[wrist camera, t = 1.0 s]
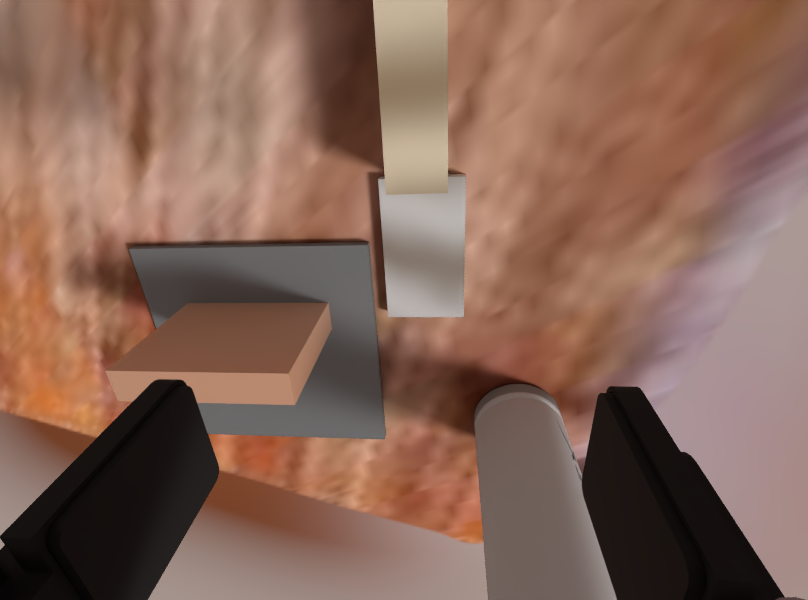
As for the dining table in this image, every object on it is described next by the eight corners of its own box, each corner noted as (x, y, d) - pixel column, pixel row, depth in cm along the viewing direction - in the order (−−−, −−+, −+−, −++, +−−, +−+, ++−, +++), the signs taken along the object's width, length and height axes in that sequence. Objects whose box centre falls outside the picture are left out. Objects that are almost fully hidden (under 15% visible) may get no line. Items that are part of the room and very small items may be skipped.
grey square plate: (134, 246, 29) (128, 248, 28) (369, 242, 27) (367, 245, 27) (196, 428, 36) (192, 433, 35) (385, 433, 34) (384, 439, 34)
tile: (187, 303, 30) (105, 370, 23) (328, 302, 29) (288, 373, 22) (195, 328, 31) (118, 401, 23) (332, 329, 30) (295, 405, 22)
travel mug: (469, 446, 34) (493, 843, 16) (478, 378, 31) (520, 772, 13) (549, 453, 33) (666, 870, 16) (566, 385, 31) (733, 802, 13)
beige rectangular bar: (365, -33, 21) (343, -66, 16) (468, -41, 20) (474, -78, 16) (389, 311, 29) (379, 351, 25) (463, 311, 29) (466, 352, 24)
